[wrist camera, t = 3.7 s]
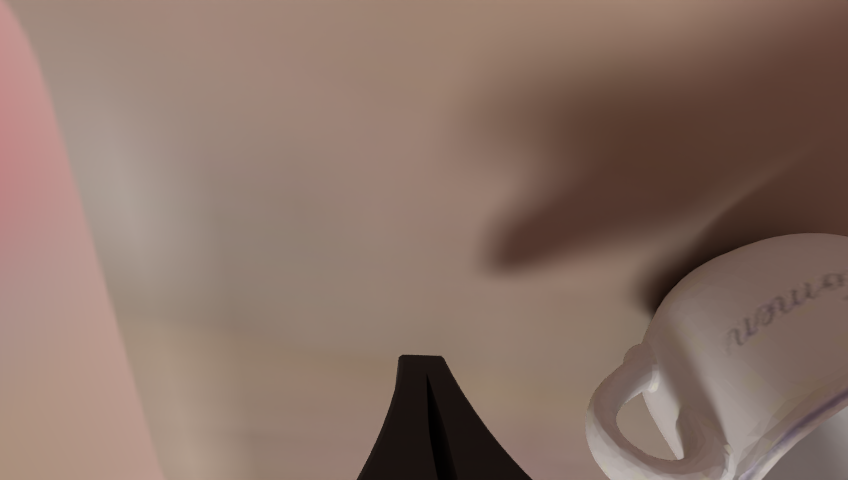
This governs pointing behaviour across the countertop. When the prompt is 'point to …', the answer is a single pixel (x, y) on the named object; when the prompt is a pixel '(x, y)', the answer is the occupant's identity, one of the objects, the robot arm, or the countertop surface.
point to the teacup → (740, 370)
